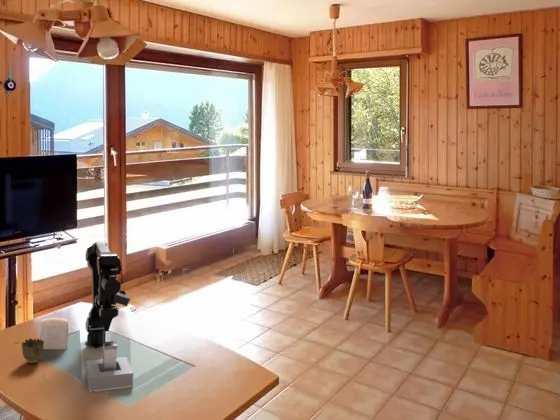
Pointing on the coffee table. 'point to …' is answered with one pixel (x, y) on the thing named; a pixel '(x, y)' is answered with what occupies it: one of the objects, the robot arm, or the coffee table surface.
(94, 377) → the square well
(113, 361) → the metal bar
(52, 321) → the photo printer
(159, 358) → the coffee table surface
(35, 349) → the brown ornate lampshade
